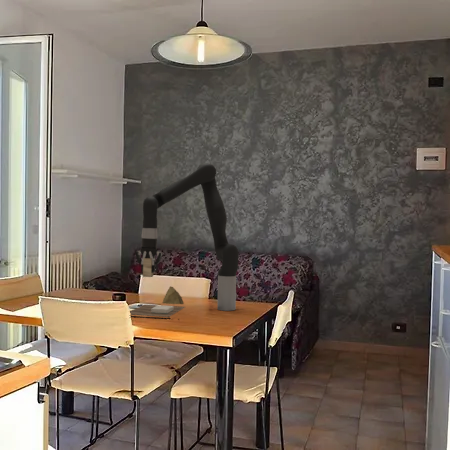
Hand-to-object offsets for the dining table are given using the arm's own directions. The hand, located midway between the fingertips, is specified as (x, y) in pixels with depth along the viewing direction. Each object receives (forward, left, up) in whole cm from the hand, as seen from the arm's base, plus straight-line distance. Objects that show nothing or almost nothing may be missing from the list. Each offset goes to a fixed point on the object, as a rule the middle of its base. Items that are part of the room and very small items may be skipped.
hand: (148, 272), depth 261 cm
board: (+3, +5, -19) cm, 20 cm away
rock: (-19, +7, -19) cm, 28 cm away
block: (0, 0, -2) cm, 2 cm away
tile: (0, +9, -17) cm, 19 cm away
